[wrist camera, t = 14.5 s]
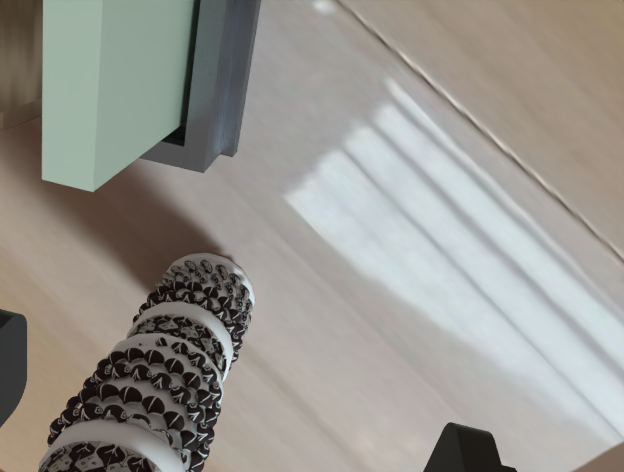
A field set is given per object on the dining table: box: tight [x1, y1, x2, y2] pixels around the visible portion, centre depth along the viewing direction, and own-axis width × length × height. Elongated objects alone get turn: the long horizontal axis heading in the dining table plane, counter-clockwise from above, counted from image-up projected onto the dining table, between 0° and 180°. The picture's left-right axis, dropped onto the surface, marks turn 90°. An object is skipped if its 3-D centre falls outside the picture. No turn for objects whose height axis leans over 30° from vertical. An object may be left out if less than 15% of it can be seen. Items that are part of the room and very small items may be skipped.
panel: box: [42, 0, 201, 192], centre depth 30 cm, size 10×2×16 cm, turn 167°
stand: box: [138, 0, 261, 173], centre depth 35 cm, size 15×9×6 cm, turn 168°
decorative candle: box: [38, 253, 255, 472], centre depth 36 cm, size 9×9×25 cm
